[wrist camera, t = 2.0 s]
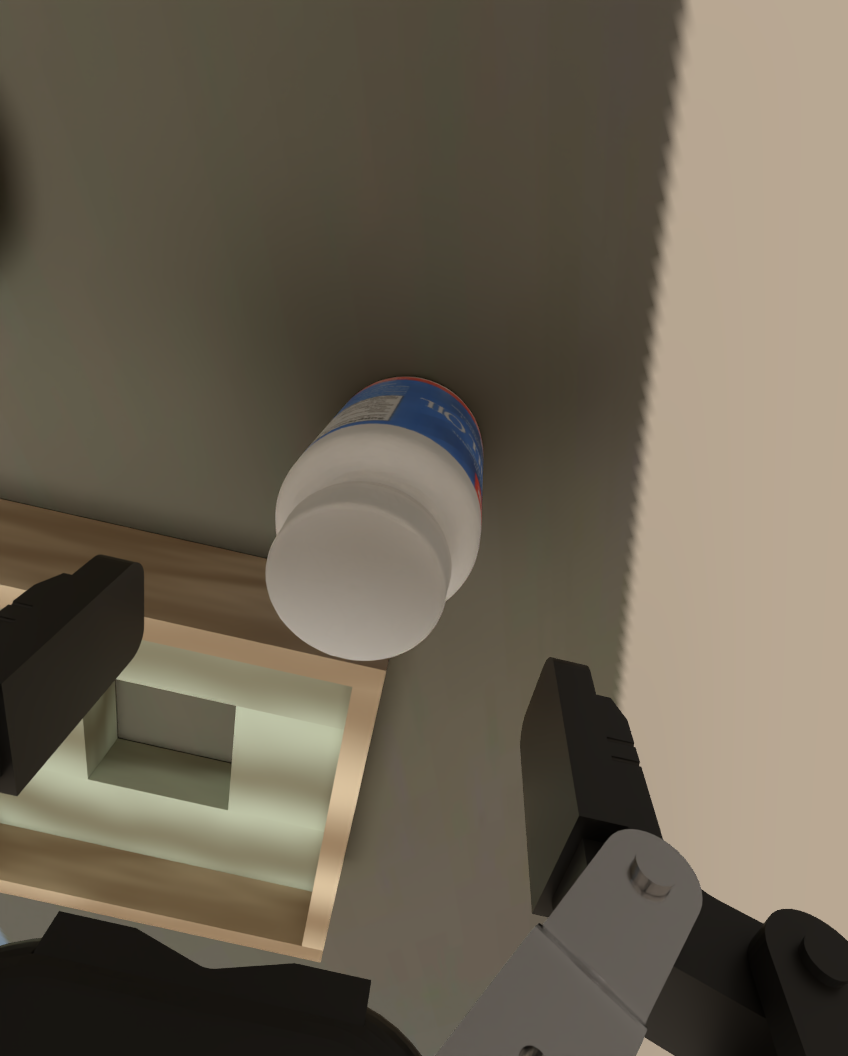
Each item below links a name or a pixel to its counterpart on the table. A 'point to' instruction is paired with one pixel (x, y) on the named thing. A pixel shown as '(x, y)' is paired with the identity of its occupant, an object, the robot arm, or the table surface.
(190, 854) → the bore box
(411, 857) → the table surface
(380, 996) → the table surface
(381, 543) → the pill bottle
